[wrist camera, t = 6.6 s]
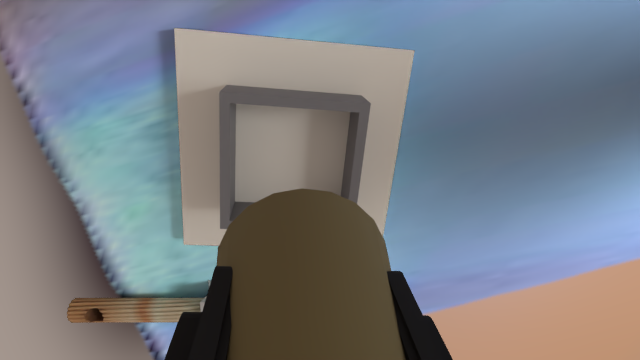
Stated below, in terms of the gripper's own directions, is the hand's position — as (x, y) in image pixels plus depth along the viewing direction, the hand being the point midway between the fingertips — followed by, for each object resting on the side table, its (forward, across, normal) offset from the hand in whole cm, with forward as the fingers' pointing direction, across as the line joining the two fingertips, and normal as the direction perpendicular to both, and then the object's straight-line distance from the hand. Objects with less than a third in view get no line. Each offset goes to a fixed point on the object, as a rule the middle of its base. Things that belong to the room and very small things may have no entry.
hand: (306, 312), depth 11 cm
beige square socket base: (+17, 0, 0) cm, 17 cm away
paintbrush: (+18, +6, +14) cm, 23 cm away
